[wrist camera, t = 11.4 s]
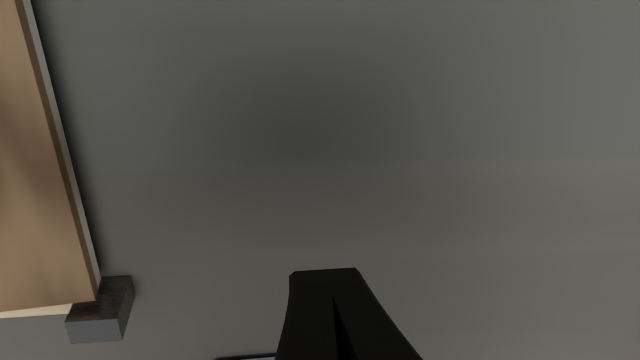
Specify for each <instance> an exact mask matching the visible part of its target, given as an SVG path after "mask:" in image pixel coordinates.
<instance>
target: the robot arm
mask: <svg viewBox="0 0 640 360" xmlns="http://www.w3.org/2000/svg"><path fill="white" fill-rule="evenodd" d="M242 360H423V359H422V358H421V357H420V356H419V354H418V353H417V352H416V351H415V349H414V348H413V347H412V346H411V344H410V343H409V342H408V341H407V339H406V338H405V337H404V335H403V334H402V333H401V332H400V330H399V329H398V328H397V327H396V325H395V324H394V322H393V321H392V320H391V318H390V317H389V316H388V314H387V313H386V311H385V310H384V309H383V307H382V306H381V304H380V303H379V302H378V300H377V299H376V297H375V296H374V294H373V293H372V291H371V290H370V288H369V287H368V285H367V283H366V282H365V280H364V279H363V277H362V275H361V274H360V272H359V271H358V270H357V269H356V268H339V269H324V270H308V271H295V272H293V273H292V274H291V275H290V276H289V299H288V306H287V312H286V317H285V322H284V326H283V330H282V334H281V337H280V341H279V345H278V349H277V353H276V356H275V357H267V358H255V359H242Z"/></svg>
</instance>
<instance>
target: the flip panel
mask: <svg viewBox="0 0 640 360" xmlns="http://www.w3.org/2000/svg"><path fill="white" fill-rule="evenodd" d="M100 280H101V276H100V272H99V268H98V264H97V260H96V256H95V252H94V248H93V245H92V241H91V237H90V233H89V229H88V225H87V221H86V217H85V213H84V209H83V205H82V201H81V197H80V194H79V190H78V186H77V182H76V178H75V174H74V170H73V166H72V162H71V158H70V154H69V150H68V147H67V143H66V139H65V135H64V131H63V127H62V123H61V119H60V115H59V111H58V107H57V103H56V99H55V96H54V92H53V88H52V84H51V80H50V76H49V72H48V68H47V64H46V60H45V56H44V52H43V48H42V45H41V41H40V37H39V33H38V29H37V25H36V21H35V17H34V13H33V9H32V5H31V1H30V0H0V312H6V311H14V310H22V309H31V308H39V307H47V306H55V305H63V304H71V303H79V302H87V301H95V300H96V296H97V292H98V288H99V284H100Z"/></svg>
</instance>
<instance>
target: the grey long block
mask: <svg viewBox="0 0 640 360" xmlns="http://www.w3.org/2000/svg"><path fill="white" fill-rule="evenodd" d="M134 299H135V293H134V289H133V284H132V279H131V276H121V277H104V278H101V280H100V284H99V288H98V292H97V296H96V300H95V301H87V302H79V303H73V304H72V306H71V309H70V311H69V313H68V315H67V318H66V320H65V322H64V323H65V326H66V329H67V332H68V335H69V338H70V342H71V344H77V343H91V342H105V341H119V340H123V336H124V333H125V329H126V326H127V322H128V319H129V316H130V312H131V309H132V305H133V302H134Z"/></svg>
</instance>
